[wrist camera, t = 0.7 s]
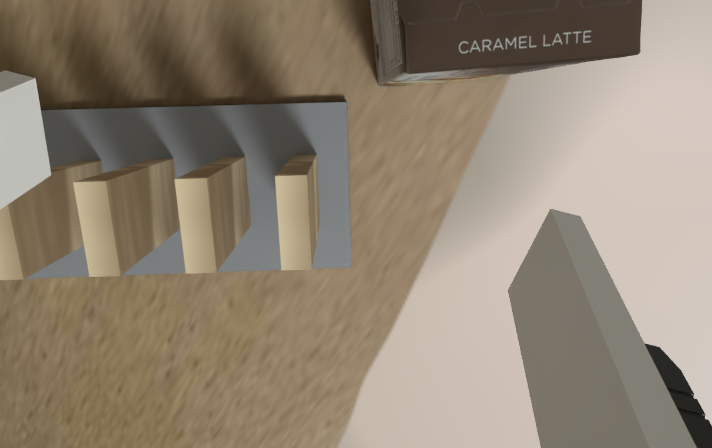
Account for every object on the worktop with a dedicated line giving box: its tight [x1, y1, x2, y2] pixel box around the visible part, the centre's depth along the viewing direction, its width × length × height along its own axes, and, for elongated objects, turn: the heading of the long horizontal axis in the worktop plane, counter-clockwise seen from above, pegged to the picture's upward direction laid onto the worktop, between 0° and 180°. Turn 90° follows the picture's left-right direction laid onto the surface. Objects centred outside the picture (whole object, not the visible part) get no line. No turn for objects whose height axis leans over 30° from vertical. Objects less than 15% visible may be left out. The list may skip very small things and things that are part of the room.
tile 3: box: [73, 158, 180, 277], centre depth 29 cm, size 2×5×10 cm, turn 1°
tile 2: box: [0, 160, 104, 280], centre depth 29 cm, size 2×5×10 cm, turn 1°
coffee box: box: [370, 0, 642, 87], centre depth 25 cm, size 9×6×16 cm
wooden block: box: [275, 154, 320, 270], centre depth 29 cm, size 2×5×10 cm, turn 2°
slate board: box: [25, 102, 352, 279], centre depth 34 cm, size 12×28×1 cm, turn 91°
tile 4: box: [174, 156, 251, 274], centre depth 29 cm, size 2×5×10 cm, turn 2°
